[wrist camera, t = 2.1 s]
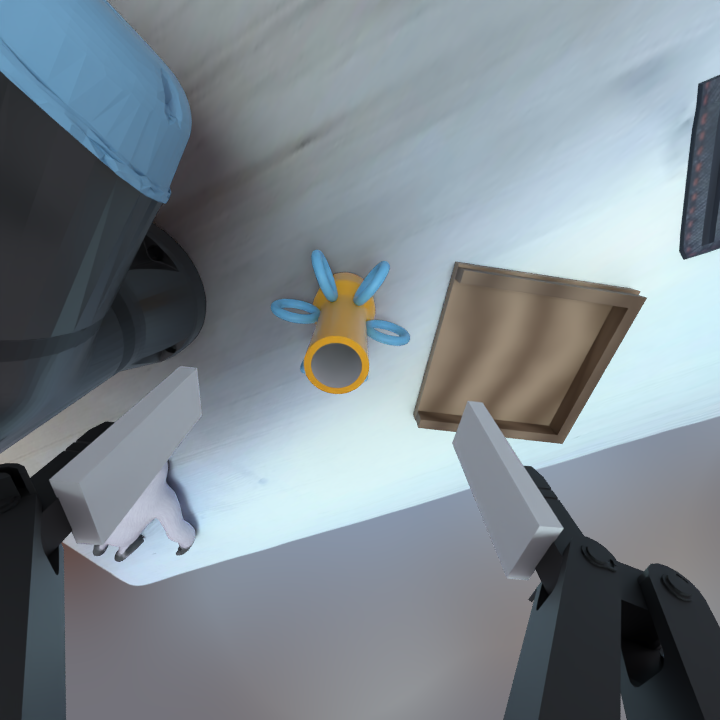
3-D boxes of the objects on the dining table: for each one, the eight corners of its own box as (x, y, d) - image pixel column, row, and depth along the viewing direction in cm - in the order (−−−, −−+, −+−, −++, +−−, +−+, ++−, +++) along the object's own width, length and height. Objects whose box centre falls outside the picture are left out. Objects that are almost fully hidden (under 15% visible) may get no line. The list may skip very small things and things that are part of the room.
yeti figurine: (182, 541, 53) (240, 482, 46) (163, 585, 47) (227, 524, 40) (56, 501, 46) (103, 422, 39) (15, 546, 40) (63, 464, 33)
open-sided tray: (413, 414, 39) (417, 429, 36) (455, 261, 30) (465, 266, 27) (553, 430, 40) (567, 446, 37) (630, 288, 31) (656, 295, 29)
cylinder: (274, 260, 30) (207, 301, 17) (373, 222, 29) (388, 234, 15) (321, 363, 35) (299, 458, 22) (407, 335, 34) (440, 419, 20)
